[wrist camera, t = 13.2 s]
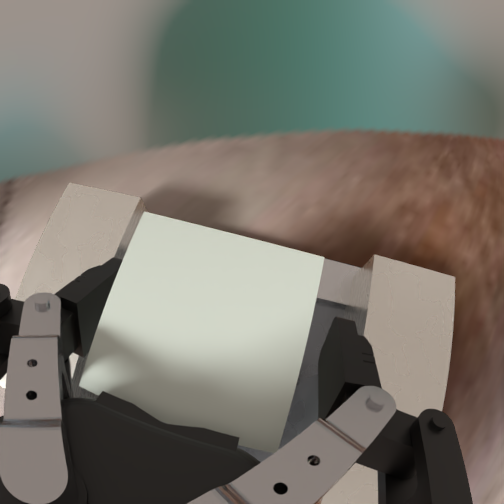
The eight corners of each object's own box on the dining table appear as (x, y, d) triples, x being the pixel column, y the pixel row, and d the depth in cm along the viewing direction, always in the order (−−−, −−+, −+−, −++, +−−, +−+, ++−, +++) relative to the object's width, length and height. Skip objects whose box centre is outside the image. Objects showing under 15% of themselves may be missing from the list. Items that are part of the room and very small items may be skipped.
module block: (166, 386, 16) (79, 385, 7) (193, 302, 18) (144, 211, 8) (256, 413, 15) (276, 453, 6) (279, 326, 17) (324, 257, 8)
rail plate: (40, 398, 16) (-12, 395, 11) (107, 214, 21) (77, 168, 16) (370, 493, 14) (409, 521, 9) (410, 290, 20) (455, 260, 15)
